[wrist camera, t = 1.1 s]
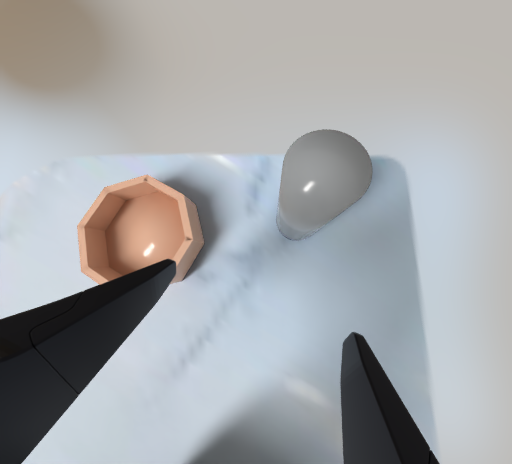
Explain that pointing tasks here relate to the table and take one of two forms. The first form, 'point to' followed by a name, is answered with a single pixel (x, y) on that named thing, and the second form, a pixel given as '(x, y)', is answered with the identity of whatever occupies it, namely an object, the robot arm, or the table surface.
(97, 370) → the robot arm
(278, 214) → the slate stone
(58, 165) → the table surface
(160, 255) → the terracotta bowl
